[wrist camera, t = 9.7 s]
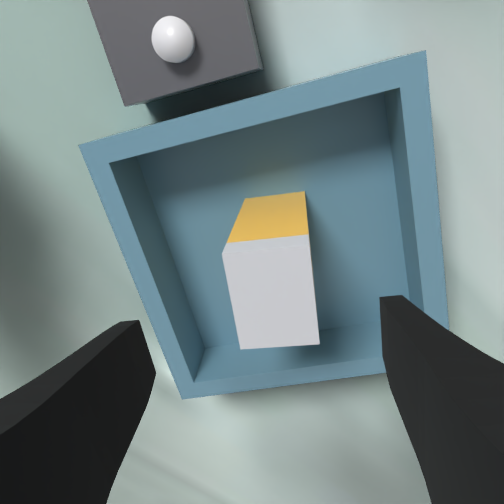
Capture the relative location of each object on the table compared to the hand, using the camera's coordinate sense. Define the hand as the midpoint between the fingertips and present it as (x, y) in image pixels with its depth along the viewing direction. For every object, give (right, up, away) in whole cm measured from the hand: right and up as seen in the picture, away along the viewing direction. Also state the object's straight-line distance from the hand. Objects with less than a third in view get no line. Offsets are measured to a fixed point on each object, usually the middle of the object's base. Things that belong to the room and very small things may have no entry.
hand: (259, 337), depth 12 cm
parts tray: (+1, +4, +10) cm, 10 cm away
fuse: (+1, +4, +9) cm, 10 cm away
